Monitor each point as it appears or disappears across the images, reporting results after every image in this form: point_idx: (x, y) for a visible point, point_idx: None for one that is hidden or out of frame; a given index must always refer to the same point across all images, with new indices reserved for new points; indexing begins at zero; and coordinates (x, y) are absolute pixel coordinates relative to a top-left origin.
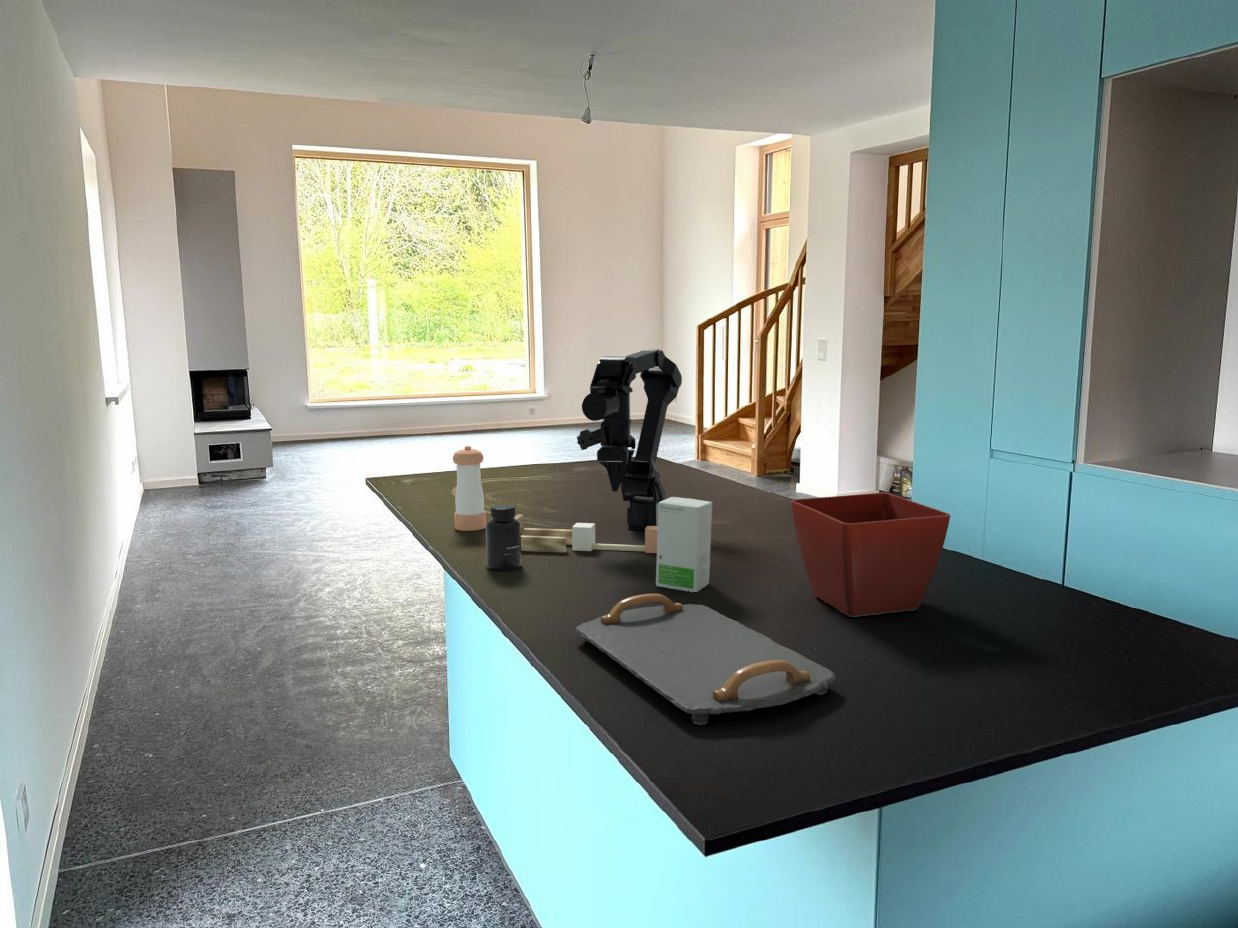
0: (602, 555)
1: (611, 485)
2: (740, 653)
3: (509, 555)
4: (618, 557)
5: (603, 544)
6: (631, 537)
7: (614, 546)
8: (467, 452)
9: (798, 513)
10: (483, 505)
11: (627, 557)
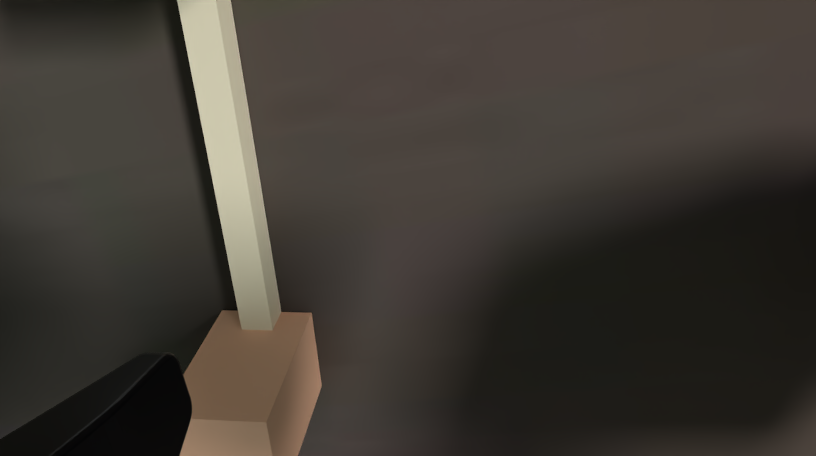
0: (52, 61)
1: (58, 413)
2: None
3: None
4: (54, 175)
5: (204, 37)
6: (629, 168)
7: (205, 125)
8: None
9: None
10: None
11: (78, 228)
